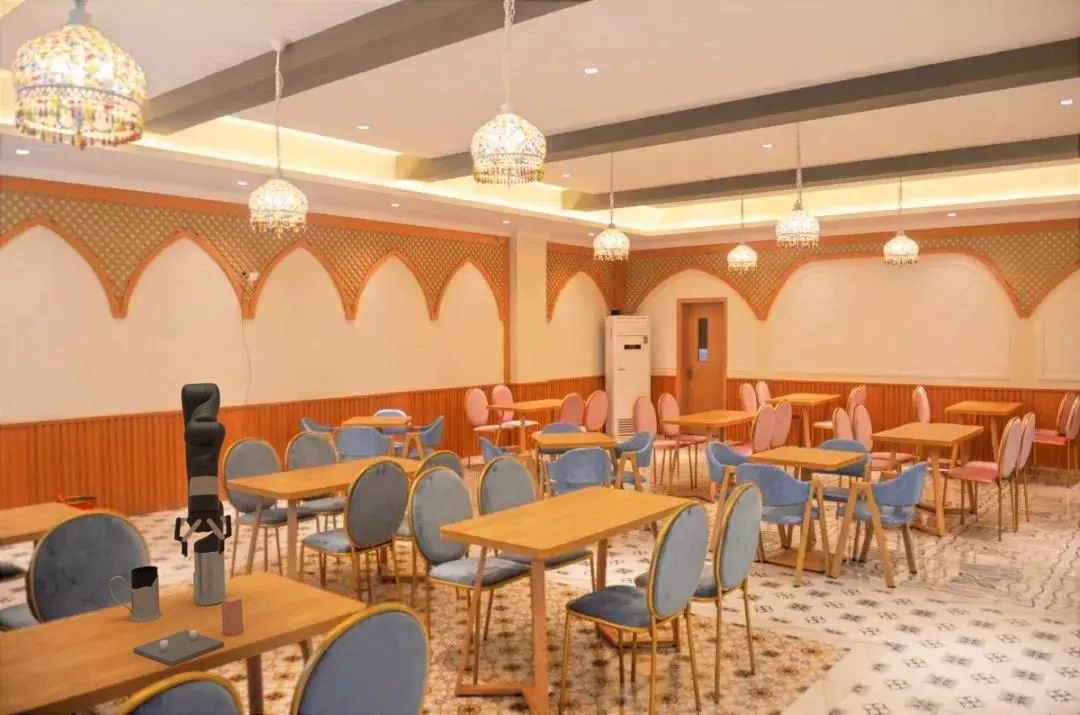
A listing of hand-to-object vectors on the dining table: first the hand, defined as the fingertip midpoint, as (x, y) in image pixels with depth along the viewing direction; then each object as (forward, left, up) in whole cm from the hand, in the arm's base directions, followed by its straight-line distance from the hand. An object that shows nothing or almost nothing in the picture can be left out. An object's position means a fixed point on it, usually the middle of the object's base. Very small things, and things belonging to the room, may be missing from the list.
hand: (202, 555), depth 221 cm
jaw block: (-12, +17, -29) cm, 36 cm away
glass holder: (-49, +9, -29) cm, 58 cm away
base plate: (-14, +1, -29) cm, 32 cm away
